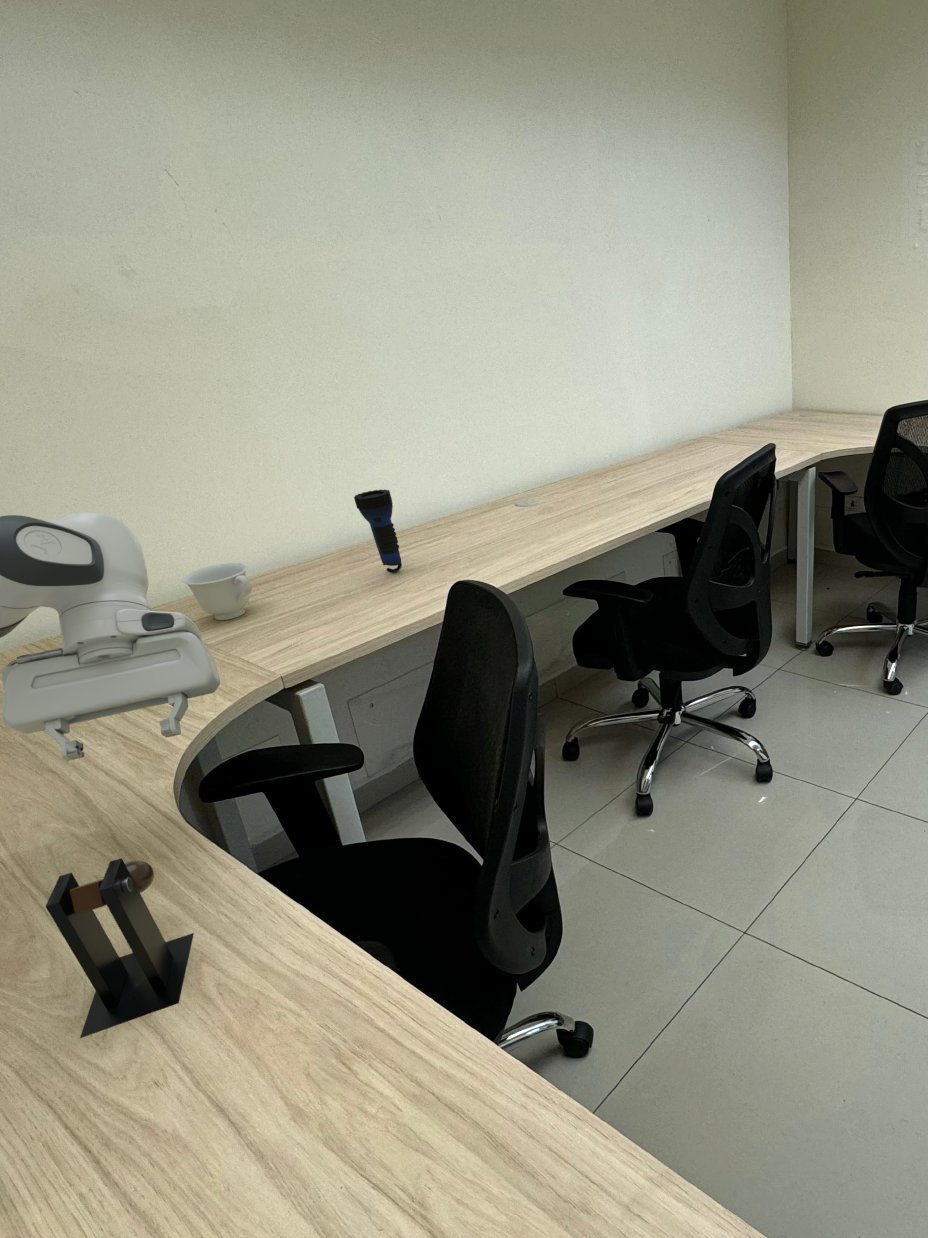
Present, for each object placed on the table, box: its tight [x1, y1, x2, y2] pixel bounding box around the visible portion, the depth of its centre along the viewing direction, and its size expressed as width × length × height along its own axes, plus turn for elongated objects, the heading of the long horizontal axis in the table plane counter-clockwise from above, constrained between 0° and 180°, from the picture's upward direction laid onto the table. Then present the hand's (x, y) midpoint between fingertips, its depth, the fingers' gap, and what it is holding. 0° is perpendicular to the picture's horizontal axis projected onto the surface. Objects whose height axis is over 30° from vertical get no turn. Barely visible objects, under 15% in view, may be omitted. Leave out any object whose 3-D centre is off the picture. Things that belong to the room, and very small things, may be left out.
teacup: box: [181, 562, 253, 621], centre depth 165 cm, size 12×15×10 cm
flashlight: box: [353, 489, 403, 573], centre depth 183 cm, size 8×8×20 cm
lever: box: [70, 860, 155, 915], centre depth 78 cm, size 13×4×4 cm, turn 26°
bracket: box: [45, 857, 195, 1039], centre depth 75 cm, size 10×8×15 cm
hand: (123, 746), depth 88 cm, fingers open, 8 cm apart
